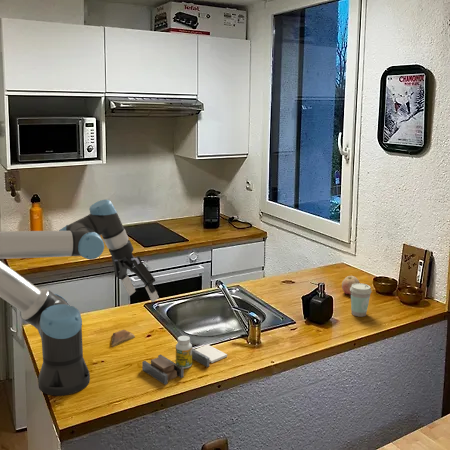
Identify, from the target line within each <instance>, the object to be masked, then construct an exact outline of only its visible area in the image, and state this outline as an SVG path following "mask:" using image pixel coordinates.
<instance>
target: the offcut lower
mask: <svg viewBox="0 0 450 450" xmlns="http://www.w3.org/2000/svg"><path fill="white" fill-rule="evenodd" d="M165 374H167V375H168V381H171V380H173V379H176V378H178V376H177V371H176V370H173V371H170V372H168V373H165Z"/></svg>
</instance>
